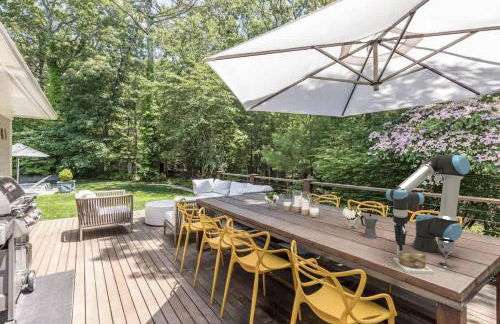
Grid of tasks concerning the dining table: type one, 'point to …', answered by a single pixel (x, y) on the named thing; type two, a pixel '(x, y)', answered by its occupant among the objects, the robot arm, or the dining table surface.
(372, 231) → the coffeepot
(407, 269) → the base plate
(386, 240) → the dining table surface
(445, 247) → the wine glass
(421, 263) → the capstan dial
